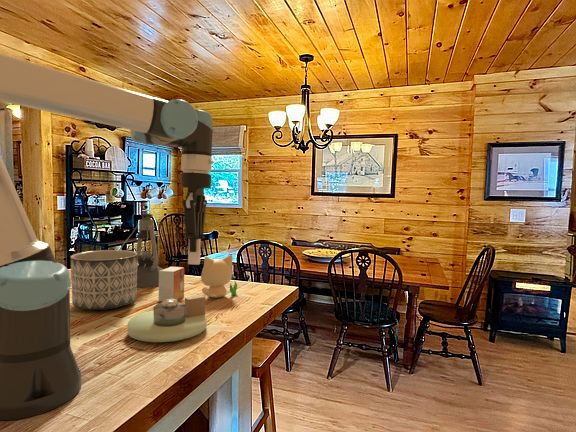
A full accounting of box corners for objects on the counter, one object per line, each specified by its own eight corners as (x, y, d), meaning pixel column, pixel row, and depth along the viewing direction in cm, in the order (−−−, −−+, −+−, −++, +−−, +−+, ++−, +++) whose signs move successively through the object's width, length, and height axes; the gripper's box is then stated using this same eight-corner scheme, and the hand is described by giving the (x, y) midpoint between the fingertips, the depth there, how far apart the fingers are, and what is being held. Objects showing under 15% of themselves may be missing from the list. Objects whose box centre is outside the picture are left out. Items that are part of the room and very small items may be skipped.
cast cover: (189, 323, 96) (189, 302, 96) (158, 329, 92) (158, 307, 92) (179, 314, 103) (180, 295, 103) (150, 319, 99) (150, 299, 98)
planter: (77, 299, 125) (76, 250, 124) (138, 295, 132) (138, 249, 131) (65, 317, 107) (64, 261, 106) (136, 311, 114) (136, 258, 113)
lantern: (105, 286, 142) (104, 208, 141) (144, 276, 161) (144, 207, 159) (141, 292, 135) (141, 210, 134) (177, 280, 154) (177, 208, 152)
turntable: (219, 331, 97) (219, 304, 96) (140, 349, 85) (140, 319, 84) (189, 310, 113) (189, 288, 112) (119, 323, 101) (119, 298, 100)
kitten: (230, 290, 141) (231, 251, 140) (243, 297, 132) (243, 255, 132) (192, 296, 132) (193, 254, 131) (203, 303, 124) (203, 258, 123)
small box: (173, 302, 124) (173, 271, 123) (158, 301, 125) (158, 270, 124) (184, 296, 132) (184, 267, 131) (170, 295, 133) (170, 266, 132)
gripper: (203, 171, 88) (201, 269, 89) (217, 174, 101) (214, 260, 102) (172, 170, 88) (170, 267, 90) (190, 173, 101) (188, 259, 103)
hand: (194, 263), depth 96 cm, fingers closed
